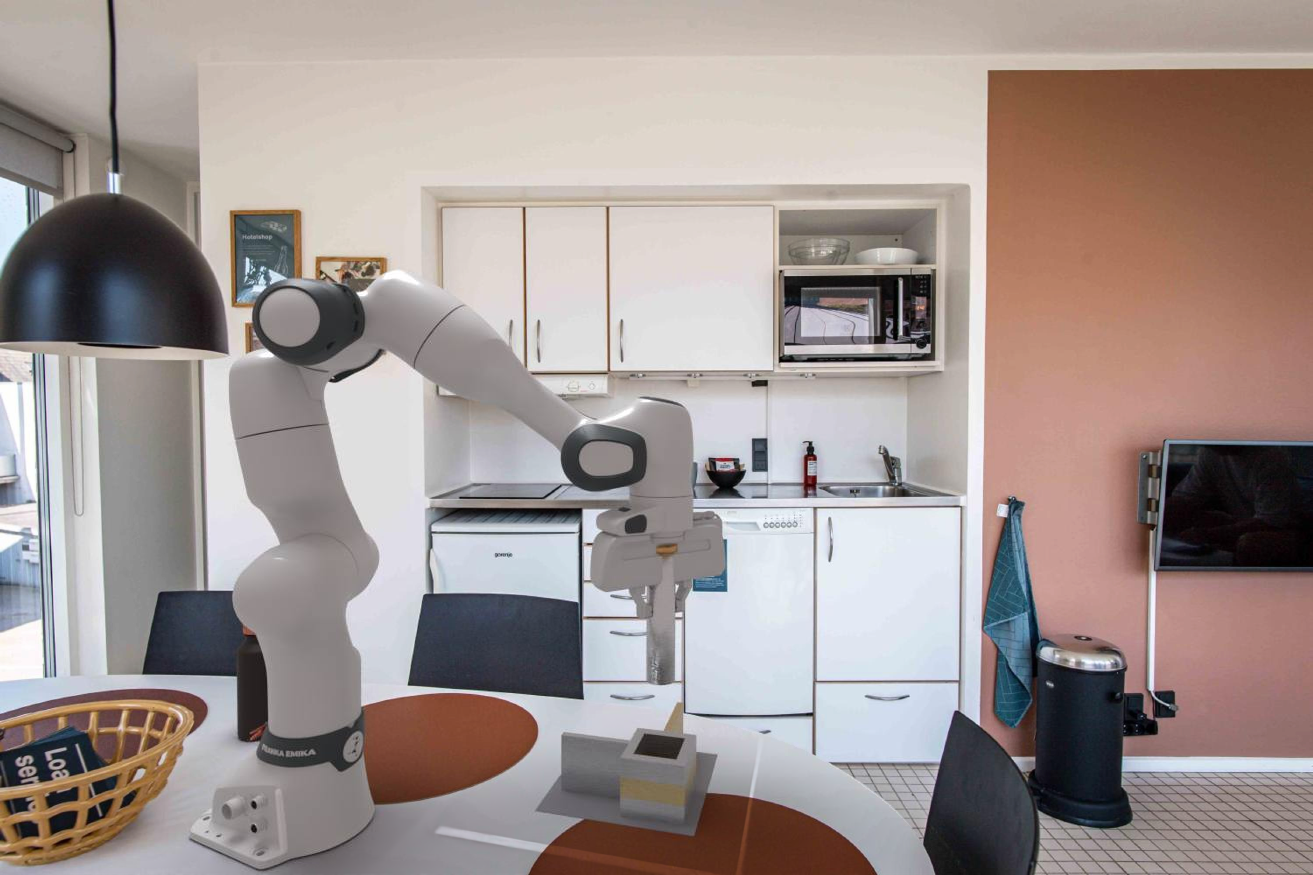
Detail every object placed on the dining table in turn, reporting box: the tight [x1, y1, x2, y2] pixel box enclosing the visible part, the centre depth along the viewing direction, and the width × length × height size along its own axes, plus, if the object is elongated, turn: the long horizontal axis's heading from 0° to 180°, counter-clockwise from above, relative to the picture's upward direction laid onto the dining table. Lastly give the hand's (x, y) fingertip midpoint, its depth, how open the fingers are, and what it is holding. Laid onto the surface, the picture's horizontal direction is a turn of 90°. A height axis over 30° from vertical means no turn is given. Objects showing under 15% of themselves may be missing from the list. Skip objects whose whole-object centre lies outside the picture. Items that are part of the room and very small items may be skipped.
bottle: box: [236, 623, 268, 742], centre depth 112 cm, size 7×7×20 cm
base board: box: [534, 751, 718, 837], centre depth 96 cm, size 22×21×1 cm
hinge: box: [560, 701, 697, 826], centre depth 96 cm, size 19×19×8 cm
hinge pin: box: [645, 544, 678, 686], centre depth 90 cm, size 5×5×19 cm
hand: (660, 614), depth 90 cm, fingers closed on hinge pin, 4 cm apart
